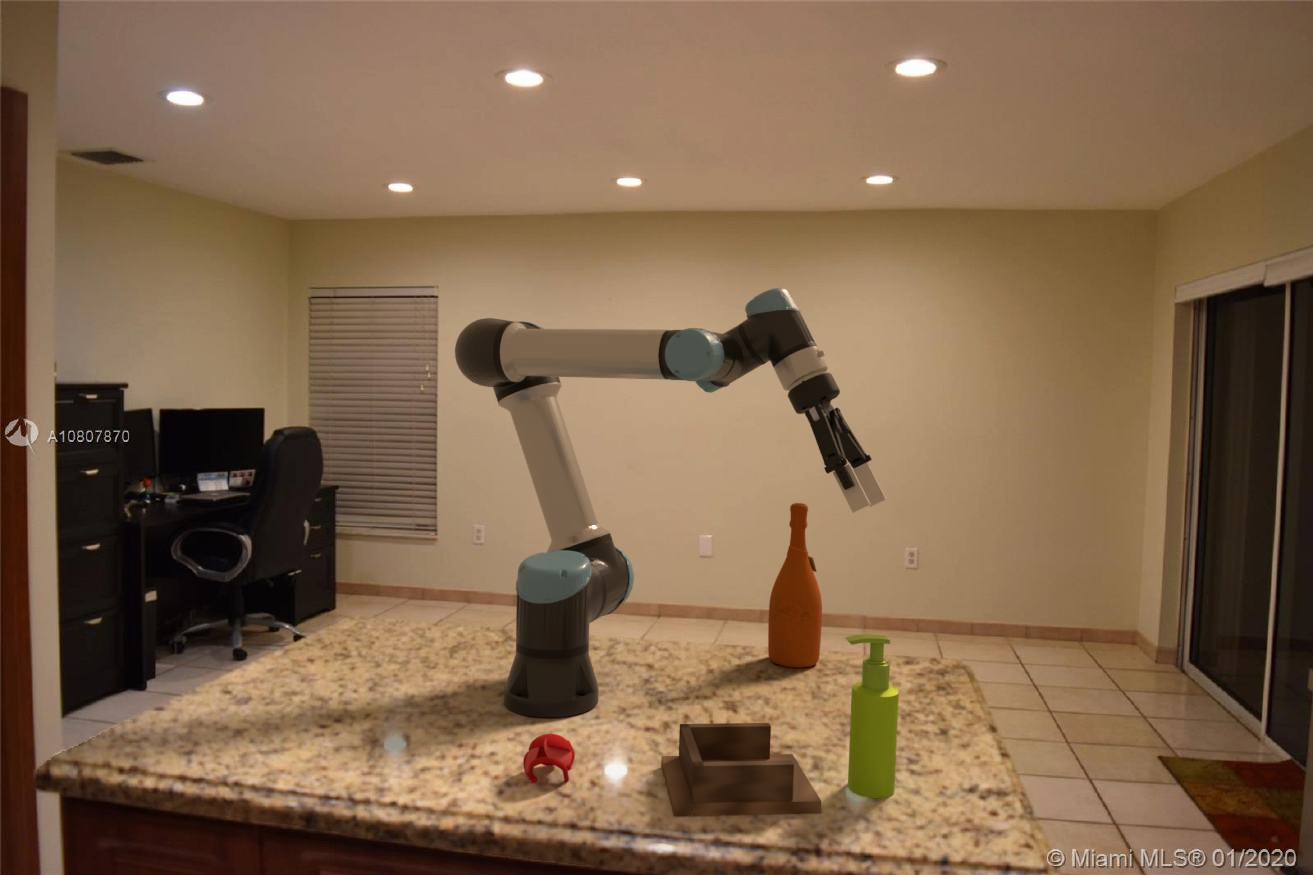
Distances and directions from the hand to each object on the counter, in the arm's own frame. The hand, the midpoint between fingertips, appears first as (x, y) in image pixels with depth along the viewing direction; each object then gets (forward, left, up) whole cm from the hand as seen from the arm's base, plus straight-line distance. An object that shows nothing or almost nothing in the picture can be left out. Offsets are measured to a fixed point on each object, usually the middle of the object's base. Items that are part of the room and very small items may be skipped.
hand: (870, 506), depth 136 cm
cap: (-47, -16, -34) cm, 60 cm away
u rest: (-23, -20, -34) cm, 46 cm away
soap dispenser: (-6, -21, -34) cm, 41 cm away
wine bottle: (-2, +32, -34) cm, 47 cm away
